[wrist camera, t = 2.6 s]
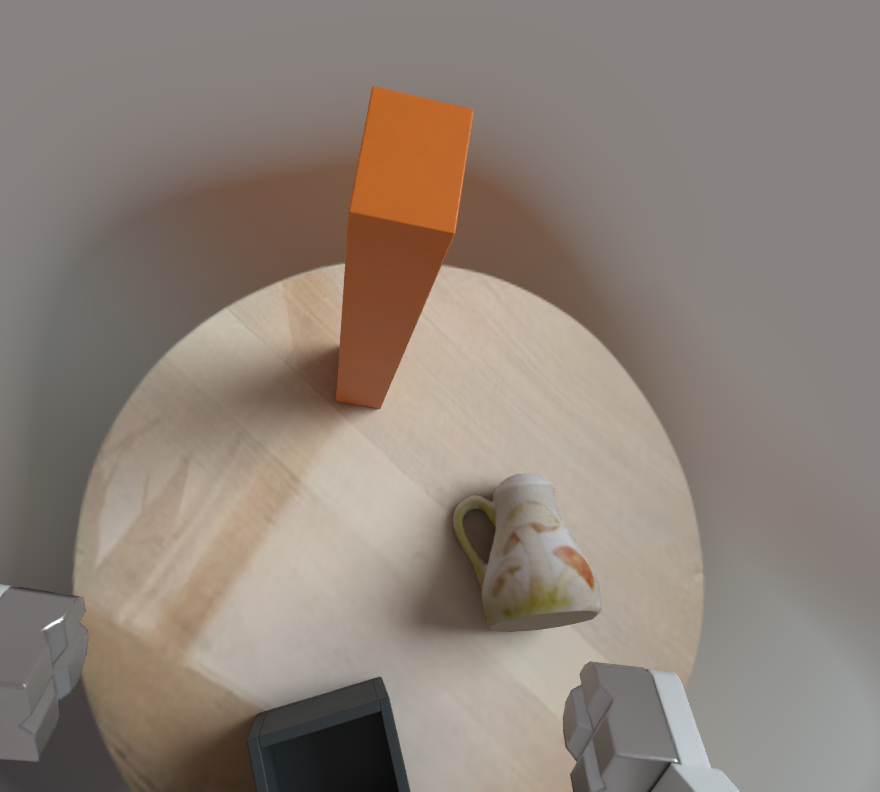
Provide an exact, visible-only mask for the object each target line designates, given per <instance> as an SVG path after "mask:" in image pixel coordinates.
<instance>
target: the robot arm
mask: <svg viewBox="0 0 880 792" xmlns="http://www.w3.org/2000/svg"><path fill="white" fill-rule="evenodd" d="M85 612H86V608H85V601H84V597H81V596H75V595H68V594H61V593H55V592H48V591H42V590H35V589H29V588H22V587H15V586H9V585H2V584H0V759H9V760H23V761H37V762H38V761H39V760H40V758H41V755H42V753H43V751H44V749H45V747H46V745H47V743H48V741H49V739H50V737H51V735H52V733H53V731H54V729H55V727H56V725H57V723H58V721H59V711H58V704H57V702H58V701H60V700H61V699H63V698H64V697H65V696H67V695H68V694H70V693H71V692H72V691H73V689H74V688H75V685H76V683H77V681H78V679H79V677H80V675H81V672H82V669H83V665H84V662H85V659H86V655H87V649H88V630H87V629H86V628H85V627H84V626H83V625H82V624H81V623H80V622H81V620H82V618H83V616H84V614H85ZM580 679H581V685H580V686H578V687H576V688H574V689H572V690H571V692H570V694H569V696H568V698H567V700H566V702H565V709H564V715H563V733H564V739H565V746H566V748H567V750H568V751H569V752H570V754H571V755H572V756H573V757H574V759H575V760H576V761H577V763H576V765H575V767H574V768H573V770H572V772H571V774H570V776H571V782H572V787H573V792H740V791H739V790H738V789H737V788H736V786H735V785H734V784H733V783H732V782H731V781H730V780H729V779H728V778H727V777H726V775H725V774H724V773H723V772H722V771H721V770H720V769H717V768H711V766H710V763H709V760H708V758H707V754H706V751H705V749H704V746H703V743H702V740H701V737H700V734H699V731H698V729H697V726H696V723H695V720H694V717H693V714H692V711H691V709H690V706H689V703H688V700H687V697H686V694H685V691H684V688H683V686H682V683H681V680H680V678H679V677H678V676H677V674H676V673H674V672H668V671H660V670H651V669H644V668H642V667H633V666H624V665H616V664H607V663H598V662H589V663H587V664H585V665H584V667H583V669H582V671H581V672H580Z"/></svg>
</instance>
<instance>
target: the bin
mask: <svg viewBox="0 0 880 792" xmlns="http://www.w3.org/2000/svg"><path fill="white" fill-rule="evenodd" d="M247 745H248V750H249V755H250V760H251V765H252V771H253V776H254V781H255V786H256V791H257V792H410V788H409V783H408V779H407V774H406V770H405V765H404V761H403V757H402V752H401V748H400V743H399V739H398V735H397V730H396V726H395V721H394V717H393V713H392V708H391V704H390V699H389V696H388V693H387V691H386V688H385V685H384V683H383V680H382V678H381V677H378V678H375V679H371V680H368V681H365V682H361V683H358V684H355V685H352V686H348V687H345V688H342V689H338V690H335V691H332V692H328V693H325V694H322V695H318V696H315V697H312V698H308V699H305V700H302V701H298V702H295V703H292V704H288V705H285V706H282V707H278V708H275V709H272V710H268V711H265V712H262V713H258V714H257V716H256V719H255V721H254V724H253V727H252V729H251V732H250V734H249V737H248V740H247Z"/></svg>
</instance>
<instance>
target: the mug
mask: <svg viewBox="0 0 880 792" xmlns="http://www.w3.org/2000/svg"><path fill="white" fill-rule="evenodd" d="M472 509H482V510H483V511H485V512H486V514H487V516H488V518H489V520H490V521H491V522H492V523H493V524H494V525H495V527H496V531H495V536H494V541H493V545H492V549H491V552H490V557H489V562H488V564H485V563H484V562H483V560H482V559H481V557H480V556H479V555H478V554H477V552H476V551H475V549H474V548H473V546H472V545H471V543H470V541H469V540H468V538H467V536H466V534H465V531H464V528H463V518H464V516H465V514H466V513H467V512H468V511H470V510H472ZM453 528H454V532H455V535H456V538H457V541H458V542H459V544H460V546H461V547H462V549H463V551H464V552H465V554H466V556H467V557H468V559H469V561H470V563H471V565H472V567H473V569H474V571H475V574H476V577H477V582H478V585H479V587H480V589H481V590H482V603H483V610H484V614H485V619H486V622H487V625H488V627H489V629H490V630H492V631H507V632H511V631H526V630H539V629H547V628H554V627H560V626H565V625H570V624H575V623H579V622H584V621H587V620H591V619H593V618H594V617H596V616H597V615H598V614H599V613H600V612H601V609H602V604H601V597H600V590H599V584H598V581H597V578H596V576H595V574H594V572H593V570H592V568H591V566H590V565H589V563H588V561H587V560H586V558H585V557H584V555H583V553H582V552H581V550H580V549H579V547H578V546H577V544H576V543H575V541H574V540H573V538H572V536H571V535H570V534H569V532H568V530H567V529H566V527H565V525H564V524H563V522H562V520H561V517H560V514H559V511H558V508H557V504H556V498H555V492H554V487H553V486H552V484H551V483H550V482H548V481H547V480H546V479H544V478H543V477H541V476H538V475H535V474H518V475H514V476H511V477H508V478H507V479H505V480H503V481H502V482H501V483H500V485H499V486H498V487H497V489H496V491H495V492H494V496H493V501H492V502H491V501H489V500H487V499H485V498H484V497H482V496H477V495H472V496H468V497H467V498H465V499H464V500H462V501H461V502H460V503H459V504H458V506H457V507H456V509H455V511H454V515H453Z"/></svg>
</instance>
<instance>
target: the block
mask: <svg viewBox="0 0 880 792" xmlns="http://www.w3.org/2000/svg"><path fill="white" fill-rule="evenodd" d="M472 118H473V109H469V108H465V107H461V106H456V105H452V104H447V103H443V102H439V101H435V100H430V99H426V98H422V97H417V96H413V95H408V94H405V93H400V92H396V91H392V90H387V89H383V88H379V87H372V92H371V97H370V102H369V107H368V113H367V118H366V123H365V129H364V134H363V139H362V144H361V150H360V155H359V160H358V166H357V171H356V176H355V181H354V187H353V193H352V197H351V203H350V208H349V218H348V232H347V246H346V261H345V276H344V290H343V305H342V320H341V335H340V349H339V364H338V379H337V393H336V401H338V402H344V403H350V404H356V405H362V406H367V407H373V408H379V409H380V408H381V406H382V403H383V401H384V399H385V396H386V394H387V392H388V389H389V387H390V384H391V382H392V380H393V377H394V375H395V373H396V370H397V368H398V366H399V363H400V361H401V359H402V356H403V354H404V352H405V349H406V347H407V345H408V342H409V340H410V338H411V335H412V333H413V331H414V328H415V326H416V324H417V321H418V319H419V317H420V314H421V312H422V310H423V307H424V305H425V303H426V300H427V298H428V296H429V293H430V291H431V288H432V286H433V284H434V281H435V279H436V277H437V274H438V272H439V270H440V267H441V265H442V263H443V260H444V258H445V256H446V253H447V251H448V248H449V246H450V244H451V242H452V239H453V237H454V235H455V231H456V224H457V217H458V211H459V204H460V198H461V191H462V184H463V178H464V171H465V164H466V158H467V151H468V145H469V138H470V131H471V125H472Z"/></svg>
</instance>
